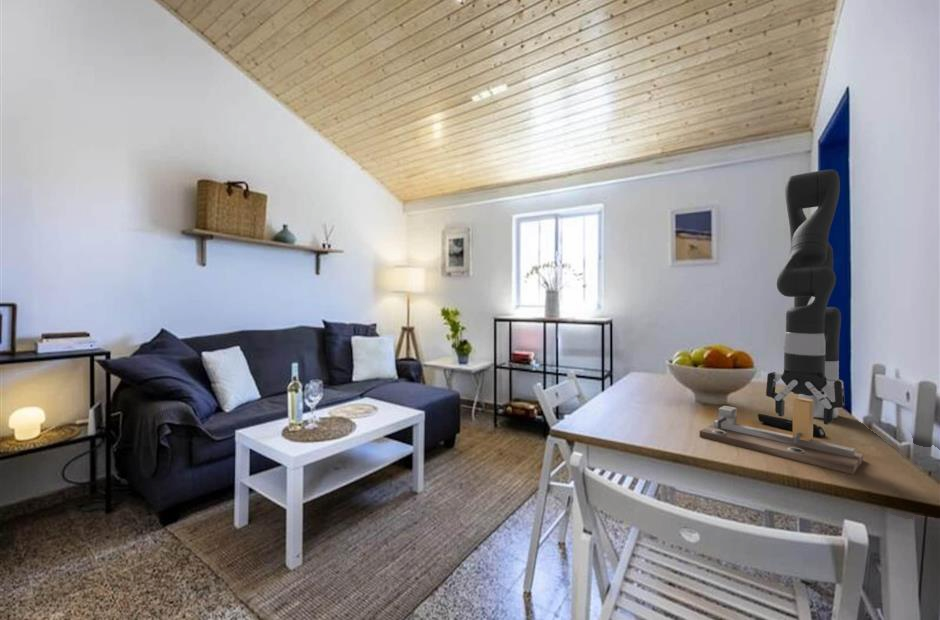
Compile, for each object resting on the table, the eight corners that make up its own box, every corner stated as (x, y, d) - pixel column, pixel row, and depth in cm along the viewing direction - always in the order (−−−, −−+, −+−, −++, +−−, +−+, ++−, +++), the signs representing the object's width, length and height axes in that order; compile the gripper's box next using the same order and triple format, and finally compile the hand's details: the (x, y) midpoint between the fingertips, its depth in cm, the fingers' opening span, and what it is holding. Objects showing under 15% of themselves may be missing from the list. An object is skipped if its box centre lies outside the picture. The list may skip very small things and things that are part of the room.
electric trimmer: (761, 422, 121) (761, 411, 121) (826, 436, 108) (826, 424, 108) (755, 424, 119) (755, 413, 119) (820, 439, 106) (820, 427, 106)
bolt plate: (716, 427, 115) (716, 402, 115) (862, 460, 92) (863, 429, 91) (699, 436, 108) (699, 410, 108) (853, 474, 85) (854, 440, 84)
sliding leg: (797, 436, 99) (797, 397, 99) (812, 439, 97) (813, 399, 97) (787, 443, 95) (788, 403, 94) (803, 447, 92) (804, 405, 92)
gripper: (848, 353, 93) (846, 423, 94) (773, 347, 104) (772, 410, 105) (841, 356, 88) (839, 430, 89) (763, 350, 100) (762, 416, 100)
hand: (803, 419), depth 97 cm, fingers open, 8 cm apart
